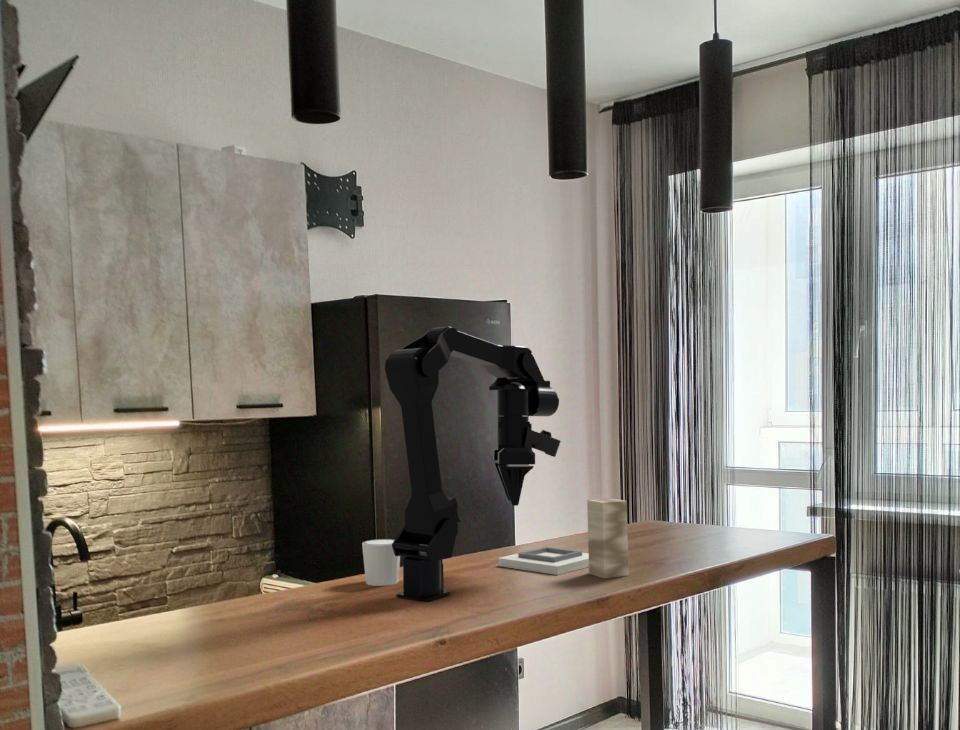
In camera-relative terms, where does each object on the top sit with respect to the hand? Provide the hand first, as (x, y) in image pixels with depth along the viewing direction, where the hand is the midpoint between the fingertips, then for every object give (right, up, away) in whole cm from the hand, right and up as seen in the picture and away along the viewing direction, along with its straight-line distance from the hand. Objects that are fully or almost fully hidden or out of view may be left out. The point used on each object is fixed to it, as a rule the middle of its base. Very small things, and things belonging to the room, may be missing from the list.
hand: (513, 503), depth 152 cm
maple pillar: (+17, -12, -3) cm, 21 cm away
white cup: (-23, -13, -6) cm, 27 cm away
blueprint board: (+7, -13, +7) cm, 16 cm away
